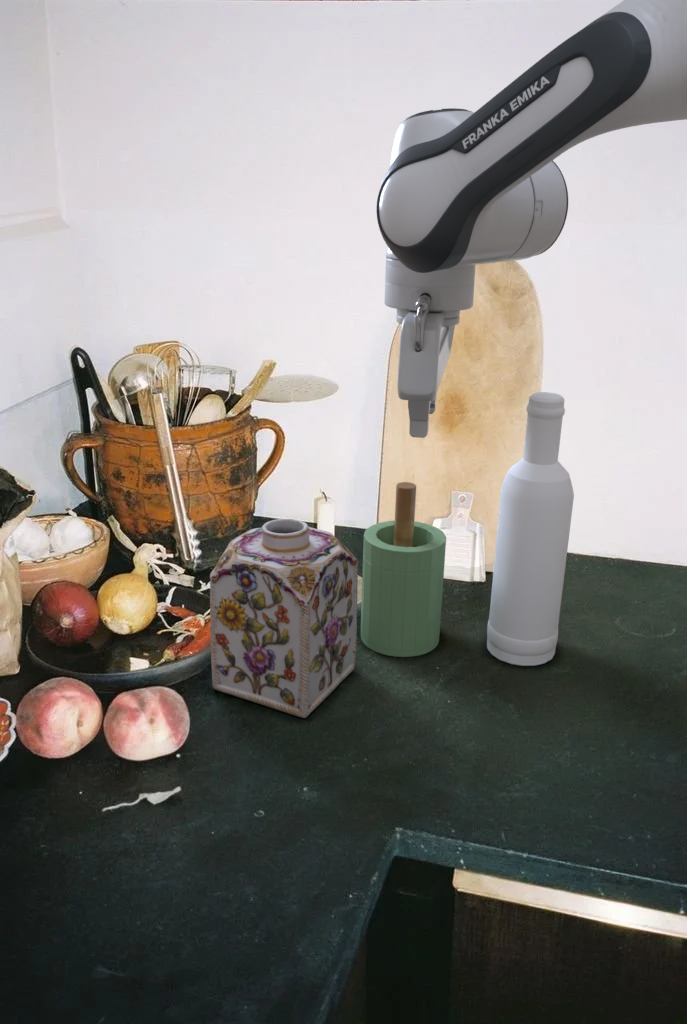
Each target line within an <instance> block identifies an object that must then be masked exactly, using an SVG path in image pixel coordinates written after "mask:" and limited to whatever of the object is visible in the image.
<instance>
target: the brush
mask: <svg viewBox="0 0 687 1024" xmlns="http://www.w3.org/2000/svg"><path fill="white" fill-rule="evenodd" d="M395 489H396V490H395V507H394V521H395V526H394V546H401V547H413V538H414V521H415V518H416V517H415V516H416V500H417V485H416V484H415V483H413V482H408V481H402V482H398V483H397V484H396V487H395Z"/></svg>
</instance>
